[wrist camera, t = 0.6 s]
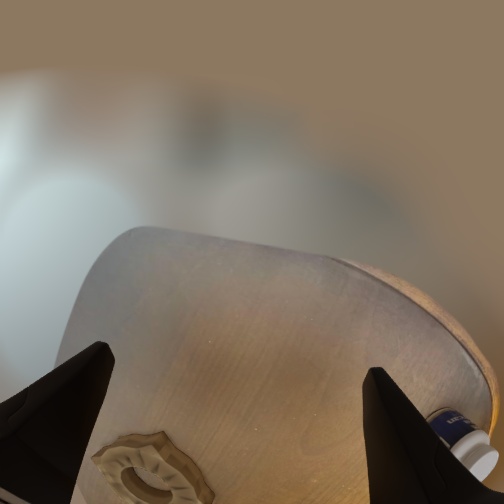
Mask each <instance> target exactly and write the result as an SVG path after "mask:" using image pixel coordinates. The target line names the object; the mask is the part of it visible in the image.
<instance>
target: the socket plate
mask: <svg viewBox="0 0 504 504" xmlns="http://www.w3.org/2000/svg"><path fill="white" fill-rule="evenodd" d="M91 459H92V461H93V462H94V463H95V465H96V466H97V467H98V469H99V470H100V471H101V472H102V474H103V476H104V478H105V480H106V483H107V484H108V485H109V487H110V488H111V489H112V490H113V491H114V492H115V494H116V495H117V496H118V497H119V498H121V499H122V500H123V501H125V502H126V503H128V504H212V502H213V499H214V497H215V494H214V493H213V492H212V491H211V490H210V489H209V488H208V487H207V486H206V484H205V483H204V480H203V477H202V474H201V471H200V470H199V469H198V468H197V467H196V465H195V464H194V463H193V462H192V460H191V459H190V458H189V457H188V456H186V455H185V454H184V453H182V452H181V451H179V450H178V449H177V448H175V447H174V446H173V444H172V443H171V442H170V440H169V439H168V437H167V436H166V435H165V433H164V432H159V433H156V434H153V435H149V436H145V435H137V434H132V435H128V436H124V437H121V438H119V439H118V440H117V441H116V442H114V443H113V444H112V445H111V446H106V447H103V448H102V449H100V450H99V451H98V452H97V453H96V454H94V455H93V456H92V457H91ZM132 466H133V467H138V468H143V469H145V470H147V471H149V472H152V473H154V474H155V475H156V476H158V477H159V478H161V479H162V480H163V481H164V482H165V483H166V484H167V485H168V486H169V487H170V489H171V491H161V490H157V489H154V488H152V487H150V486H148V485H147V484H145V483H144V482H143V481H141V480H140V479H139V477H138V476H137V475H136V474H135V473H134V470H133V468H132Z"/></svg>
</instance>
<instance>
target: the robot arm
mask: <svg viewBox="0 0 504 504" xmlns="http://www.w3.org/2000/svg"><path fill="white" fill-rule="evenodd" d="M114 364H115V358H114V355H113V353H112V351H111V349H110V347H109V345H108V344H107V343H105V342H101V341H97V342H95V343H93V344H92V345H90V346H89V347H87V348H86V349H84V350H83V351H81V352H80V353H78V354H77V355H75V356H74V357H72V358H71V359H69V360H68V361H66V362H64V363H63V364H61V365H60V366H58V367H57V368H55V369H54V370H52V371H51V372H49V373H48V374H46V375H45V376H43V377H42V378H40V379H39V380H37V381H36V382H34V383H33V384H31V385H30V386H29V387H27V388H25V389H24V390H22V391H21V392H19V393H17V394H16V395H14V396H13V397H11V398H9V399H7V400H6V401H4V402H2V403H0V504H70V502H71V498H72V494H73V491H74V487H75V484H76V480H77V477H78V473H79V470H80V467H81V464H82V460H83V457H84V454H85V451H86V448H87V445H88V442H89V439H90V437H91V434H92V431H93V428H94V425H95V423H96V420H97V417H98V414H99V412H100V409H101V407H102V404H103V401H104V399H105V396H106V392H107V389H108V385H109V381H110V378H111V374H112V371H113V368H114ZM362 393H363V430H364V439H365V448H366V457H367V467H368V479H369V494H370V504H504V493H501V492H497V491H493V490H491V489H489V488H487V487H486V486H484V485H483V484H482V483H481V482H480V481H479V480H478V479H477V478H476V477H475V476H474V475H473V474H472V473H471V472H470V471H469V470H468V469H467V468H466V467H465V466H464V465H463V464H462V463H461V462H460V461H459V460H458V459H457V458H456V457H455V455H454V454H453V453H452V452H451V451H450V449H449V448H448V447H447V446H446V445H445V443H444V442H443V441H442V440H440V437H439V436H438V435H437V433H436V432H435V431H434V430H433V428H432V427H431V426H430V425H429V423H428V422H427V421H426V420H425V418H424V417H423V416H422V415H421V414H420V412H419V411H418V410H417V409H416V407H415V406H414V405H413V404H412V402H411V401H410V400H409V399H408V398H407V396H406V395H405V394H404V393H403V392H402V390H401V389H400V388H399V387H398V385H397V384H396V383H395V382H394V381H393V379H392V378H391V377H390V376H389V375H388V373H387V372H386V371H385V370H384V369H383V368H382V367H372V368H370V369H369V370H368V373H367V375H366V377H365V379H364V382H363V386H362Z"/></svg>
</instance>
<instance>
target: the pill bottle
mask: <svg viewBox="0 0 504 504" xmlns="http://www.w3.org/2000/svg"><path fill="white" fill-rule="evenodd" d="M426 421H427V422H428V423H429V425H430V426H431V427H432V428H433V430H434V431H435V432H436V433H437V435H438V436H439V437H440V440H442V441H443V442H444V443H445V445H446V446H447V447H448V448H449V449H450V451H451V452H452V453H453V454H454V455H455V457H456V458H457V459H458V460H459V461H460V462H461V463H462V464H463V465H464V466H465V467H466V468H467V469H468V470H469V471H470V472H471V473H472V474H473V475H474V476H475V477H476V478H477V479H478V480H479V481H480V482H481V481H482V480H484V479H485V478H486V477H487V476H488V475H489V473H490V472H491V471H492V470H493V468H494V466H495V465H496V463H497V460H498V456H499V455H498V452H497V451H496V450H495V449H494V448H493V447H492V446H489V444H490V440H489V436H488V435H487V433H486V432H484V431H483V430H482V429H481V428H479V427H478V426H476V425H475V424H474V423H472V422H471V421H470V420H468V419H467V418H465V417H464V416H463V415H461V414H460V413H458V412H457V411H456V410H454V409H451V408H444V409H441V410H438V411H436V412H435V413H433V414H432V415H431V416H430V417H428V418H427V419H426Z"/></svg>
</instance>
